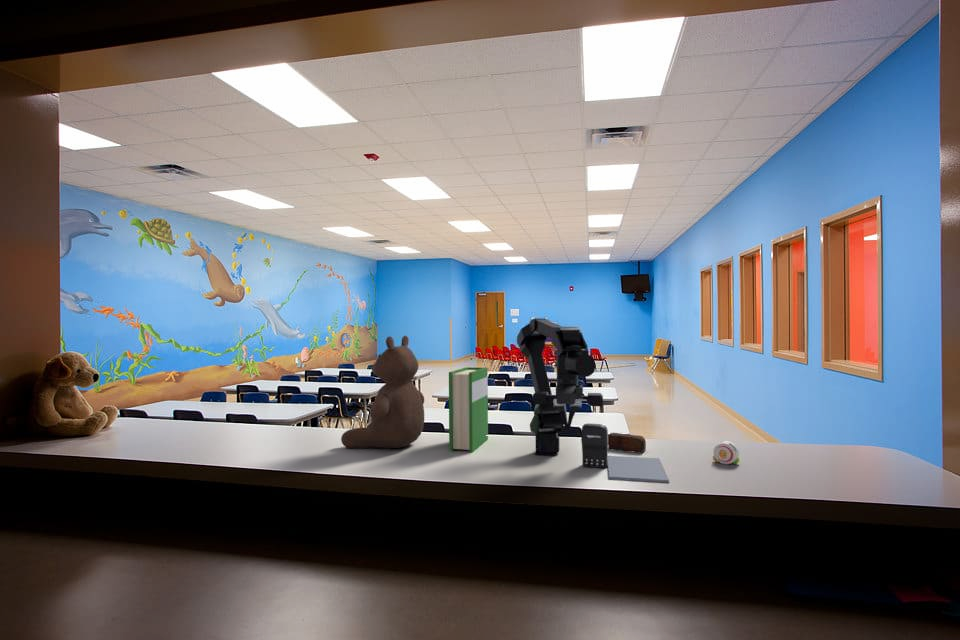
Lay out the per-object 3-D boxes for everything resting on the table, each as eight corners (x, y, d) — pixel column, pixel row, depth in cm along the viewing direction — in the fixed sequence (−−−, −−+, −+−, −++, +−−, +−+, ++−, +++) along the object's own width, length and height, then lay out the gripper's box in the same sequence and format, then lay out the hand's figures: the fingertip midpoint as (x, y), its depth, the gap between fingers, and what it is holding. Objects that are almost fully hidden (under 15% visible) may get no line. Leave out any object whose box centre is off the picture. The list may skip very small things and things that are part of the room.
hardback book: (472, 452, 150) (471, 372, 150) (449, 451, 152) (448, 372, 152) (488, 439, 166) (487, 367, 167) (466, 438, 169) (466, 367, 169)
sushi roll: (736, 467, 132) (736, 445, 132) (711, 463, 136) (710, 441, 136) (740, 463, 136) (740, 442, 136) (715, 459, 140) (715, 438, 140)
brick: (607, 449, 152) (607, 434, 152) (610, 447, 155) (610, 432, 155) (643, 454, 147) (643, 438, 147) (646, 451, 150) (646, 435, 151)
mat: (609, 479, 123) (609, 476, 123) (607, 457, 142) (607, 455, 142) (669, 482, 120) (669, 480, 120) (659, 460, 139) (659, 458, 139)
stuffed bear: (380, 433, 177) (377, 335, 178) (437, 437, 169) (435, 334, 170) (326, 454, 150) (324, 338, 151) (392, 459, 142) (389, 336, 143)
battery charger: (580, 467, 133) (580, 424, 133) (582, 464, 136) (581, 422, 137) (607, 470, 131) (607, 426, 131) (608, 466, 134) (608, 423, 134)
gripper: (529, 375, 130) (529, 435, 130) (602, 377, 125) (603, 439, 125) (534, 371, 141) (534, 426, 141) (602, 372, 136) (602, 429, 136)
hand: (567, 430), depth 135 cm, fingers closed
